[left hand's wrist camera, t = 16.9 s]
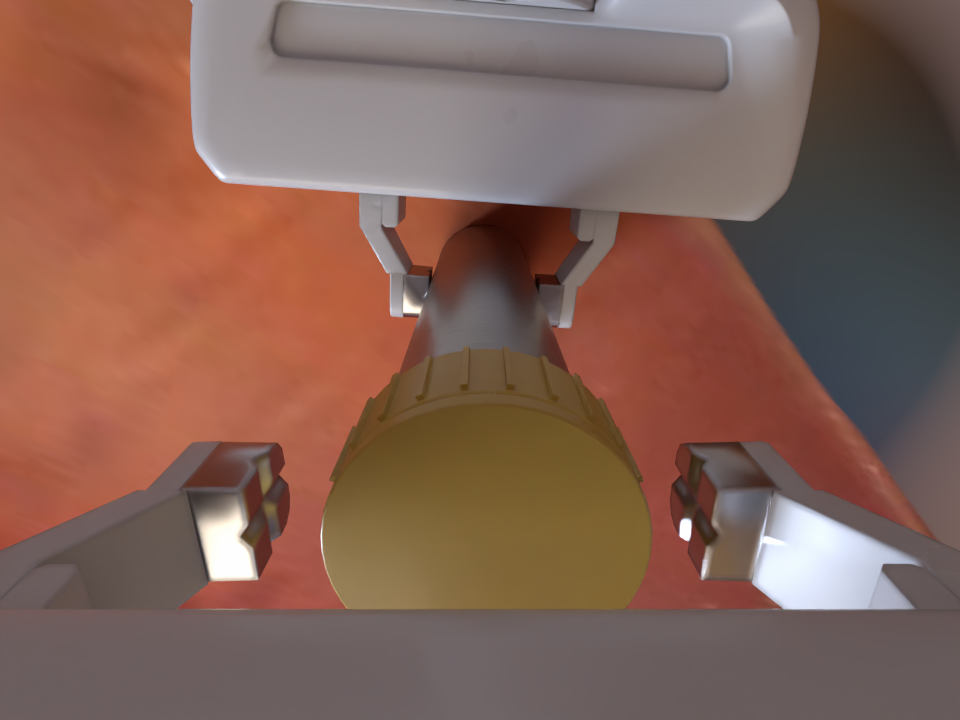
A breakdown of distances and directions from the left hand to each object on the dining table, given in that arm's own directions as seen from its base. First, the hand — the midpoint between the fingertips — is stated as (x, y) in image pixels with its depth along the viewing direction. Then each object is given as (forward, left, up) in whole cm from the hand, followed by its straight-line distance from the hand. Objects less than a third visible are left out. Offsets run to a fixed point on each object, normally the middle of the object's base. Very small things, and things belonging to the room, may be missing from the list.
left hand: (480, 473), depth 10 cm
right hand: (0, +1, -12) cm, 12 cm away
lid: (0, 0, +2) cm, 2 cm away
